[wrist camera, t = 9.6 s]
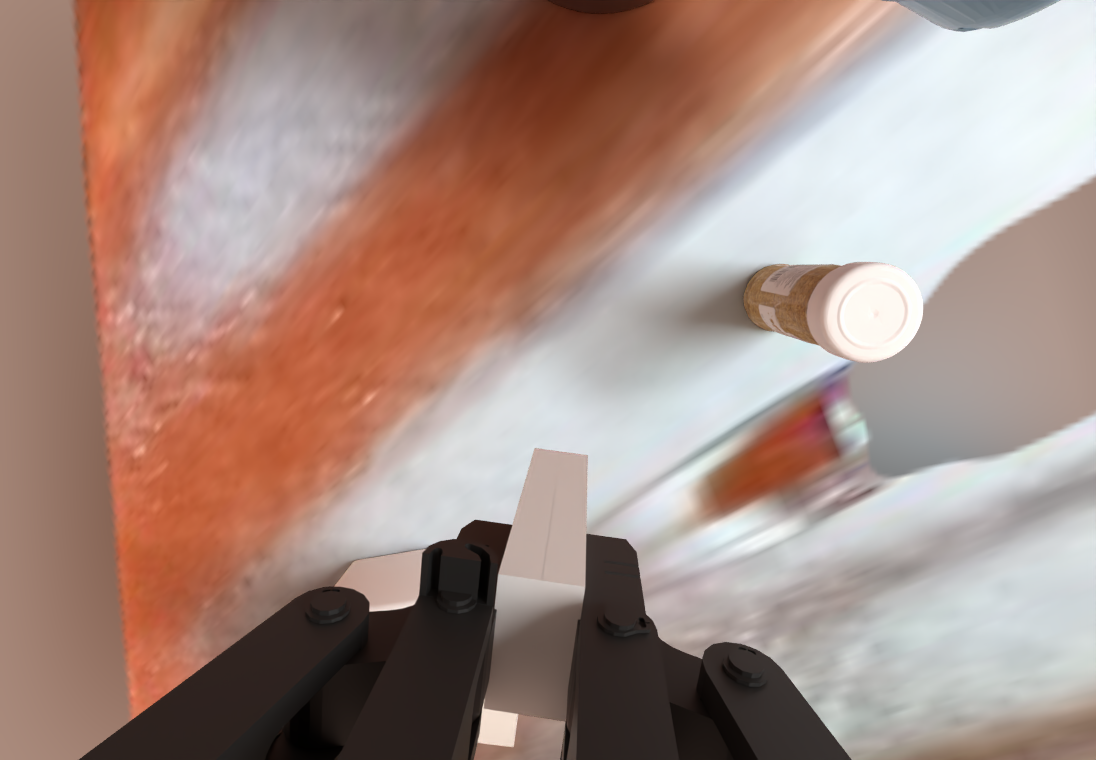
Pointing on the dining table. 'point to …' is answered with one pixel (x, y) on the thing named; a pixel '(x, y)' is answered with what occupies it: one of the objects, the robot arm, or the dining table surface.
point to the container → (386, 579)
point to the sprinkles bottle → (838, 307)
